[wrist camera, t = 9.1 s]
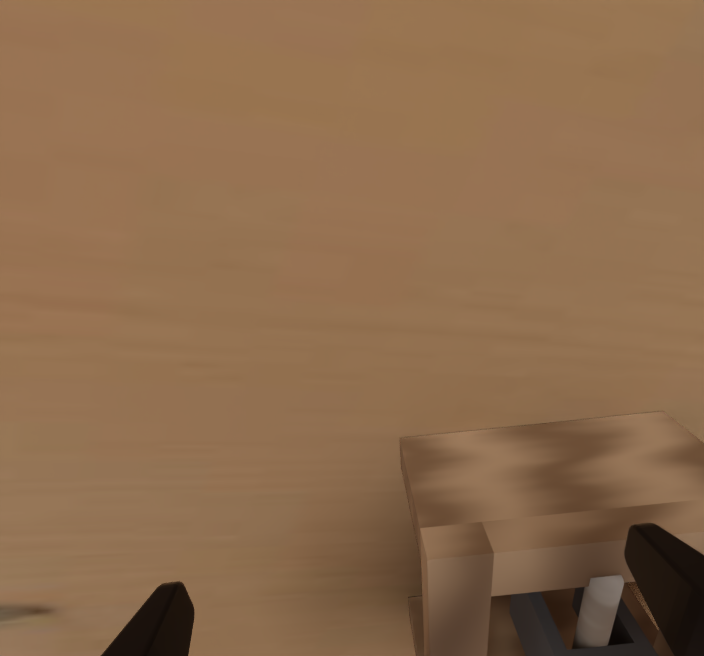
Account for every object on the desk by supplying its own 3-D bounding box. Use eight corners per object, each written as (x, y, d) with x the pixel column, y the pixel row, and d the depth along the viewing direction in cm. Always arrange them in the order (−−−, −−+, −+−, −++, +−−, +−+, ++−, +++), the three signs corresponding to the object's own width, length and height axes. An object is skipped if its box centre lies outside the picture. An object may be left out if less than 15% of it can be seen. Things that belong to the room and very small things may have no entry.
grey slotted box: (593, 553, 21) (662, 663, 16) (582, 604, 22) (643, 716, 18) (513, 562, 21) (562, 674, 16) (509, 612, 22) (552, 726, 18)
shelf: (663, 411, 22) (818, 535, 15) (616, 595, 28) (709, 744, 21) (399, 438, 22) (430, 575, 15) (409, 616, 28) (435, 772, 21)
